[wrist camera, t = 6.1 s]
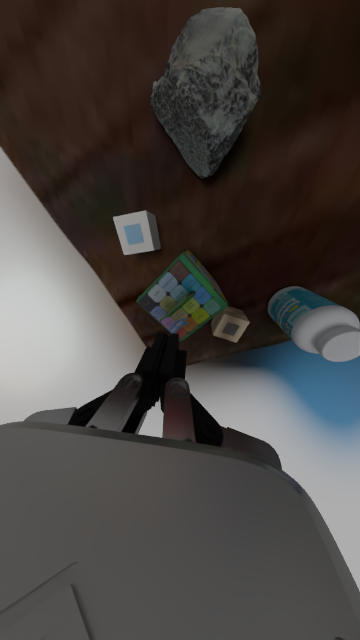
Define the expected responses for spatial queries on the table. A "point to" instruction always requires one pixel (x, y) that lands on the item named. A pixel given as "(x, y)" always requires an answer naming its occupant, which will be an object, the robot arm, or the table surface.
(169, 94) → the stone
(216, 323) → the marked block beech
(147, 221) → the marked block white
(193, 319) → the chalk box
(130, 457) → the robot arm
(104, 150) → the table surface
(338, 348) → the pill bottle
